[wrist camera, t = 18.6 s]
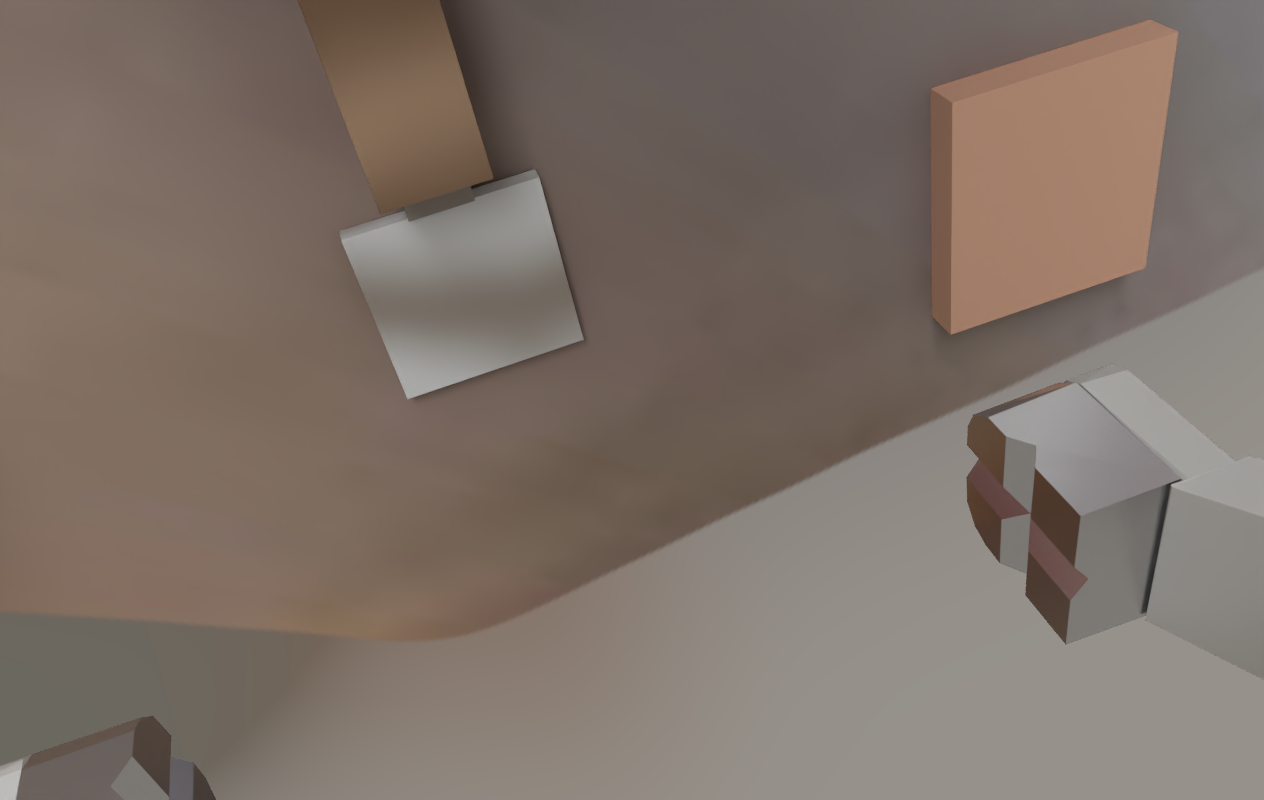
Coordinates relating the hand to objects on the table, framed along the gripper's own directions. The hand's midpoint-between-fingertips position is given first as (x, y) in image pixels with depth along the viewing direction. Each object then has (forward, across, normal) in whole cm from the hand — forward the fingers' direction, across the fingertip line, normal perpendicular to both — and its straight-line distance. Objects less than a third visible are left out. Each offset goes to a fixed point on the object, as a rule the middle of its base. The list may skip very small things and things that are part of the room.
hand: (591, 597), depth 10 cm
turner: (+22, 0, +3) cm, 23 cm away
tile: (+22, -20, +13) cm, 32 cm away
